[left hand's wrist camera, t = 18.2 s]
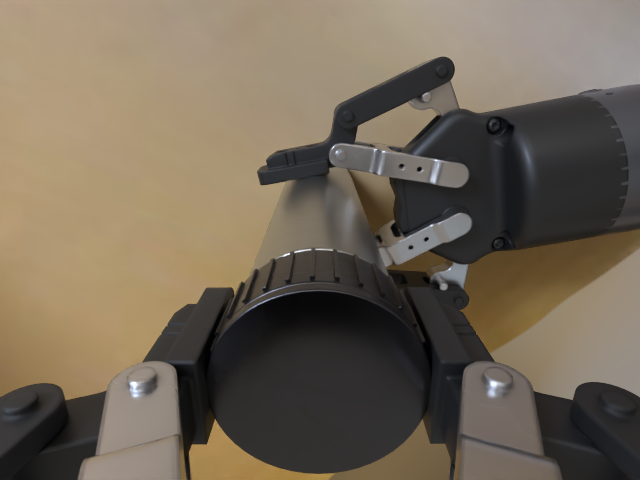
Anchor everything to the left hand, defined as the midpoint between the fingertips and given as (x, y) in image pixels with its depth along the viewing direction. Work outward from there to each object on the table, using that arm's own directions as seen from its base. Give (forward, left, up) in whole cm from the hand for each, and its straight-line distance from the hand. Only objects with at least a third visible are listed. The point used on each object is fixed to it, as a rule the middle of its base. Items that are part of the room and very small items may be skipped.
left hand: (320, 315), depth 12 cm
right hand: (0, -3, -11) cm, 11 cm away
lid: (0, 0, +3) cm, 3 cm away
